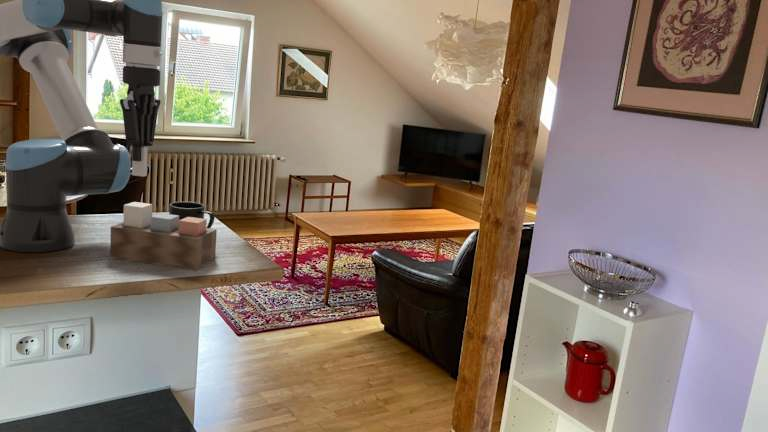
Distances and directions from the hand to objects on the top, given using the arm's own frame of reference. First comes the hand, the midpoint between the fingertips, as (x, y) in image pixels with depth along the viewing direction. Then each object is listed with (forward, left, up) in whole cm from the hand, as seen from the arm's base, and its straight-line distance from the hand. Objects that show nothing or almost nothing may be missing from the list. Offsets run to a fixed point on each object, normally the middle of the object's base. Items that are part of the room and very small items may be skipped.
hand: (139, 175), depth 140 cm
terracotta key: (+13, 0, -15) cm, 20 cm away
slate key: (+6, 0, -15) cm, 17 cm away
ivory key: (0, 0, -14) cm, 14 cm away
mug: (+6, +14, -18) cm, 24 cm away
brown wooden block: (+6, 0, -18) cm, 19 cm away
